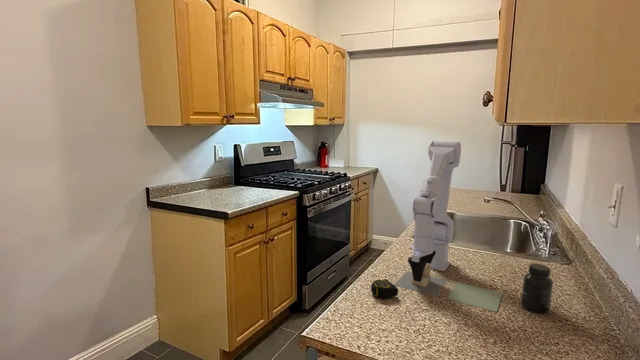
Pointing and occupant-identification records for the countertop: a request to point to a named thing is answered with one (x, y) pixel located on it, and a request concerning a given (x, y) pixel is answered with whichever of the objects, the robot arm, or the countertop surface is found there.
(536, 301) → the supplement bottle
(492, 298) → the olive mat
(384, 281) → the tape measure
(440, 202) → the robot arm
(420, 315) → the countertop surface
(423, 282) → the birch block
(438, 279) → the tile
